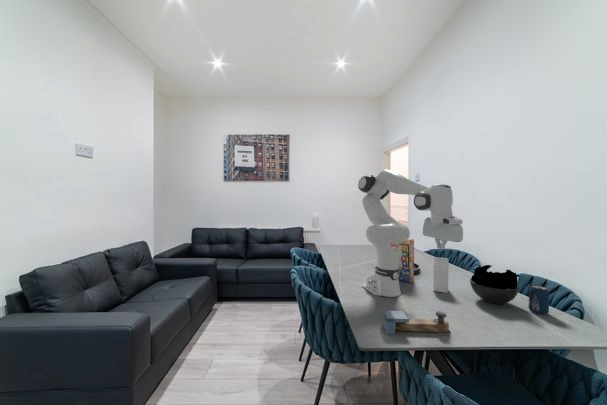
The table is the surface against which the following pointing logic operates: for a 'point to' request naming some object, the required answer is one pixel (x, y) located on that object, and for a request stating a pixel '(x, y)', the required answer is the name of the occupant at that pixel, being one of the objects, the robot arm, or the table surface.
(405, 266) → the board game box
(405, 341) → the table surface
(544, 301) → the soda can
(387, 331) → the keeper
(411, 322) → the link
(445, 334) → the pin washer
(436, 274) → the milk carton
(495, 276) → the bowl of black rocks
